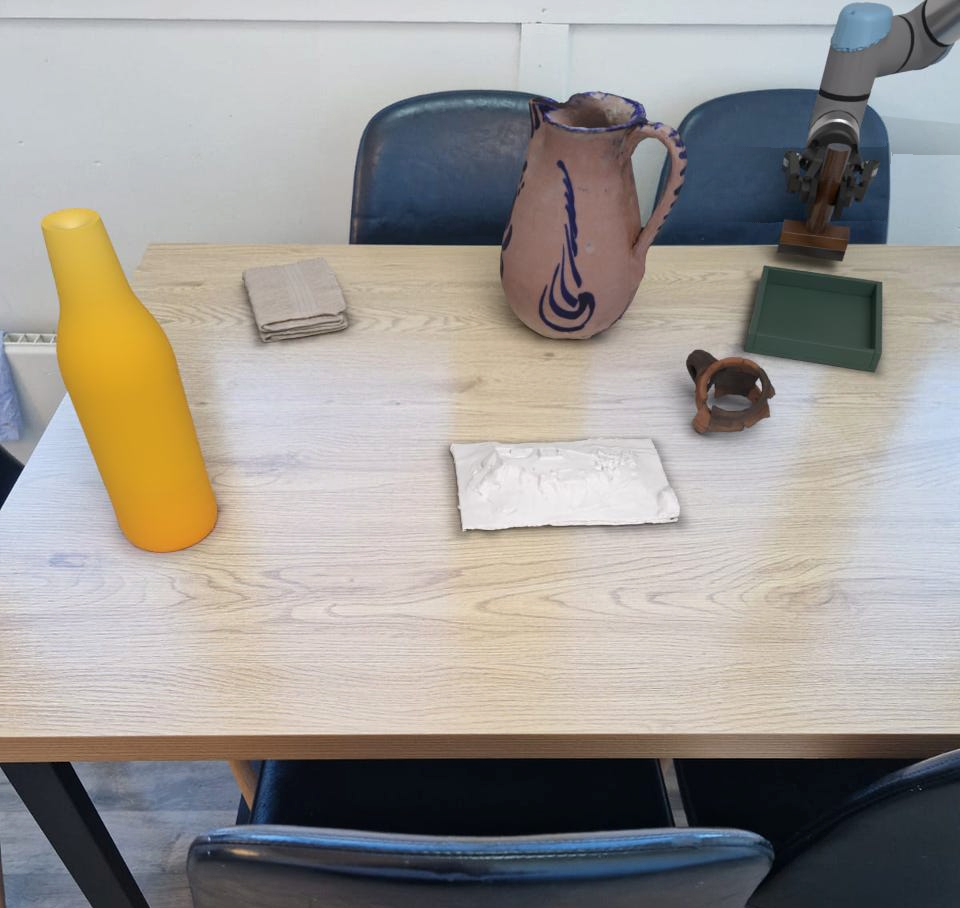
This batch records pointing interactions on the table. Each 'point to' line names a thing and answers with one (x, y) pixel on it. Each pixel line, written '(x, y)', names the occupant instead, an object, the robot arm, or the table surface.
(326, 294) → the washcloth
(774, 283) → the tray
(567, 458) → the terrain model
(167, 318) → the table surface
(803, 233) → the brush
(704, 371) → the broken clay pot
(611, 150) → the ceramic pitcher
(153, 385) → the beer bottle
